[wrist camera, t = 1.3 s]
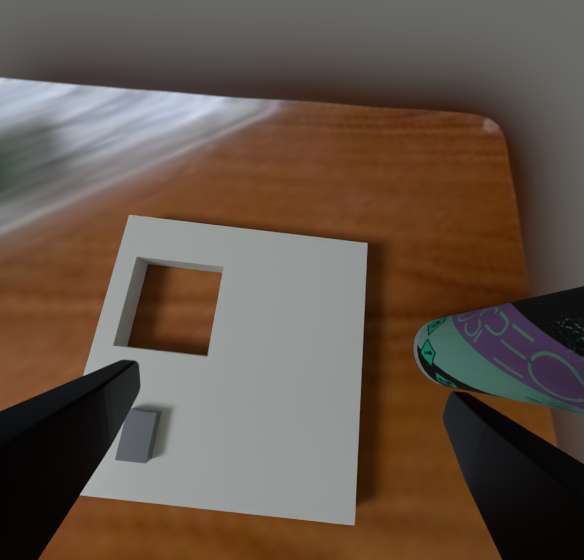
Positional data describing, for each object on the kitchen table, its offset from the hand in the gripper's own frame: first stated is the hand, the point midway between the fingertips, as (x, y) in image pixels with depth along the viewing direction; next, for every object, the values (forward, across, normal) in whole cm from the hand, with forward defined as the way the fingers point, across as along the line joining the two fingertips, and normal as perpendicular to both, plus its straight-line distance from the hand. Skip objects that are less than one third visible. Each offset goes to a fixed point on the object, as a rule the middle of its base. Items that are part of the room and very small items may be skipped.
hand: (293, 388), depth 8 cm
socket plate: (+13, +4, +8) cm, 16 cm away
